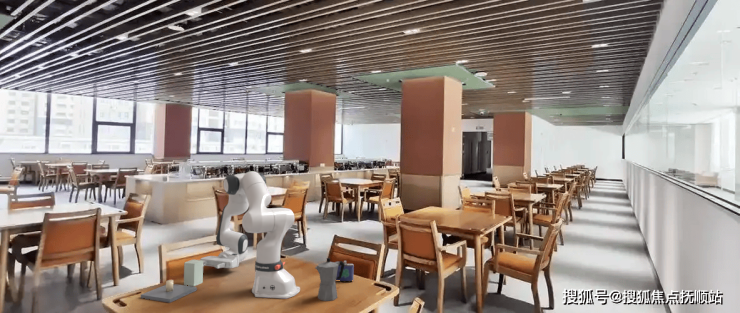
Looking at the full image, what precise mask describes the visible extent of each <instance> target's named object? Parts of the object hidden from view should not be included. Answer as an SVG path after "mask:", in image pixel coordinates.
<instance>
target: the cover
mask: <svg viewBox="0 0 740 313" xmlns="http://www.w3.org/2000/svg"><path fill="white" fill-rule="evenodd" d="M203 273H204V266H203V261H202V260H200V259H190V260H187V261H186V262H184V266H183V285H184V286H187V285H188V286H192V287H197V286H198V285H200V284H203V282H204V281H203V280H204V278H203V276H204V275H203Z"/></svg>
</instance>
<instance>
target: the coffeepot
mask: <svg viewBox="0 0 740 313" xmlns="http://www.w3.org/2000/svg"><path fill="white" fill-rule="evenodd" d="M339 265H341V269H340V272H339V277H337V271H338V266H339ZM344 266H345V264H344V261H342V260H339V261H335V262H334V261H331V258H330V257H327V258H326V261H323V262H320V263H318V265H316V266H315V268H314V269H315V270H317V272H318V273H319V280H320V283H319V288H318V293H317V299H318V300H320V301H323V302H331V301H334V300H337V298H339V297H338V292H337V291H338V290H337V284H336V283H337V282H336V277H337V279H341V276H342V273H343V269H344Z"/></svg>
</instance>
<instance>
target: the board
mask: <svg viewBox="0 0 740 313" xmlns="http://www.w3.org/2000/svg"><path fill="white" fill-rule="evenodd" d="M197 290H198V287H197V286H187V285H184V284H178V283H177V284H176V283H174V279H168V280H166V281H165V284H164V285H162V286H159V287H156V288H154V289H152V290H150V291H146V292H144V293H141V294H140V297H139V298H140V299H143V298H145V300H149V299H150V301H156V302H161V303H162V302H163V303H168V304H171V303H173V302H174V301H175V302H176V301H177V300H179V299H182V298H184V297H185V296H188V295H190V294H192V293H195V292H196V291H197Z"/></svg>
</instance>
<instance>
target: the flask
mask: <svg viewBox="0 0 740 313" xmlns="http://www.w3.org/2000/svg"><path fill="white" fill-rule="evenodd" d="M343 263H344V264H345V266H344V269H343V273H342V276H341V279H337V277H339V272H340V269H341V265H339V266H338V271H337V277H336V280H340V281H352V280H353V281H354V273H355V272H354V270H355V268H354V267H355V266H354V264H353V263H347V260H343ZM336 280H335V281H336Z"/></svg>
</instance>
